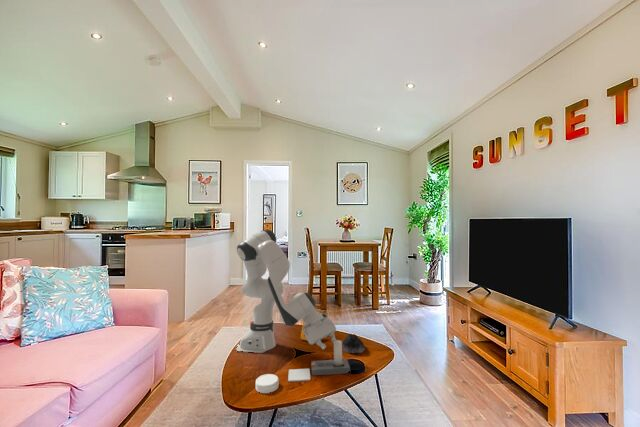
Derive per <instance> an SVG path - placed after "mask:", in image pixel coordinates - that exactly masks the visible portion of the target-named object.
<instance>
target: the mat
mask: <svg viewBox="0 0 640 427" xmlns="http://www.w3.org/2000/svg"><path fill="white" fill-rule="evenodd" d="M310 370H311V369H310V368H296V369H295V368H294V369H291V368H290V369H288V375H287V376H288V378H287V382H288V383H293V382H309V381H311V371H310Z"/></svg>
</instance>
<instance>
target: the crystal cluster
mask: <svg viewBox="0 0 640 427" xmlns="http://www.w3.org/2000/svg"><path fill="white" fill-rule="evenodd" d="M365 347H366V346H365V343H363V341H362V340H361V339H360V338H359V337H358V336H357V334H355V333H353V334H352V333H348V334H347V335H346V336H345V339H343V341H342V350H343V352H346V353H349V354H362V353H364V351H365V349H366V348H365Z"/></svg>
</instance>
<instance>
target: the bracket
mask: <svg viewBox="0 0 640 427" xmlns="http://www.w3.org/2000/svg"><path fill="white" fill-rule="evenodd" d="M304 326H306V325H305V323H304V322H302V327H301V332H300V339H301V340H303V341H306V342H308V340H307V339H306V337H305V334H304V332H303V327H304Z"/></svg>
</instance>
